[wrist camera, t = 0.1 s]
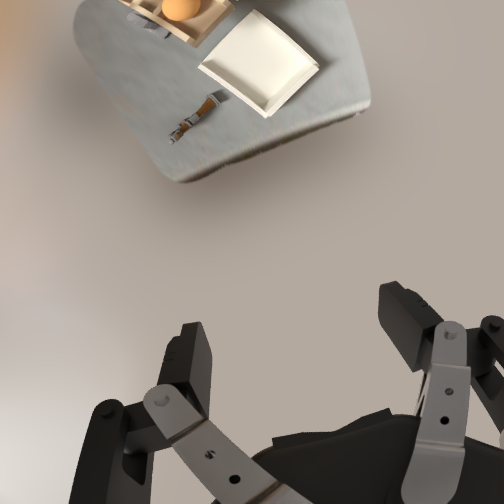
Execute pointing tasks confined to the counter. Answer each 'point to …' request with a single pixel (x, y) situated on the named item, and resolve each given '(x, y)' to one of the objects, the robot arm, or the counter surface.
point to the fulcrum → (147, 24)
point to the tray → (259, 64)
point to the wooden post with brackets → (193, 118)
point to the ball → (180, 9)
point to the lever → (189, 30)
